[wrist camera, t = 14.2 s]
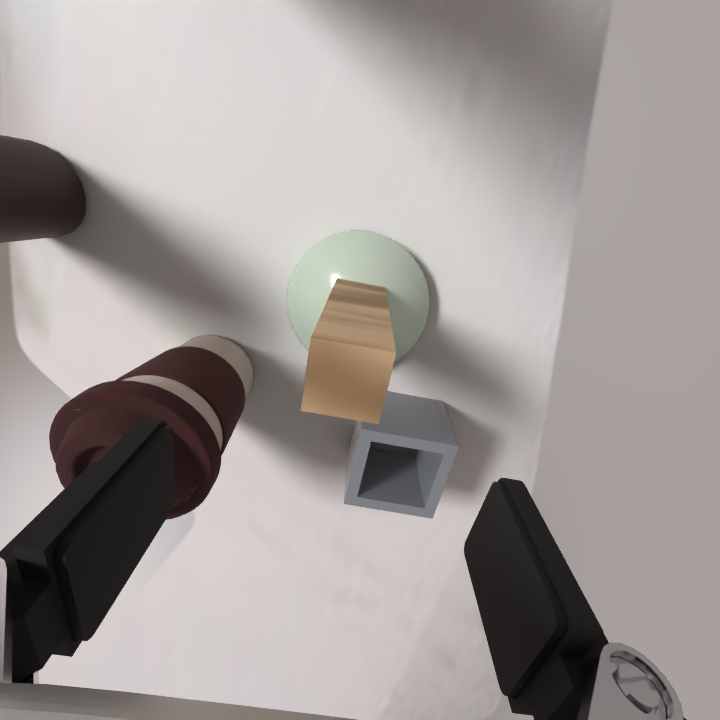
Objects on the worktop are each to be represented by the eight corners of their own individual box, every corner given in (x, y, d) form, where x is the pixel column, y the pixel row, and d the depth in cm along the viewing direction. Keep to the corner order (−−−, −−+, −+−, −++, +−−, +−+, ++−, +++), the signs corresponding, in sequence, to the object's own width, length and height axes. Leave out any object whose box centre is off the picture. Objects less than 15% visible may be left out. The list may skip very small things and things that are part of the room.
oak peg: (337, 278, 29) (310, 337, 16) (384, 287, 29) (396, 352, 17) (329, 324, 31) (300, 410, 18) (375, 332, 31) (378, 424, 18)
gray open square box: (363, 386, 34) (361, 428, 28) (443, 401, 35) (459, 446, 28) (348, 452, 38) (343, 503, 31) (422, 465, 38) (432, 518, 32)
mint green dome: (298, 216, 28) (295, 216, 27) (444, 246, 29) (447, 248, 28) (282, 352, 33) (279, 357, 32) (408, 376, 34) (409, 381, 33)
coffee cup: (142, 354, 34) (-14, 458, 20) (220, 298, 31) (104, 373, 18) (214, 429, 37) (121, 562, 23) (289, 383, 35) (236, 502, 21)
